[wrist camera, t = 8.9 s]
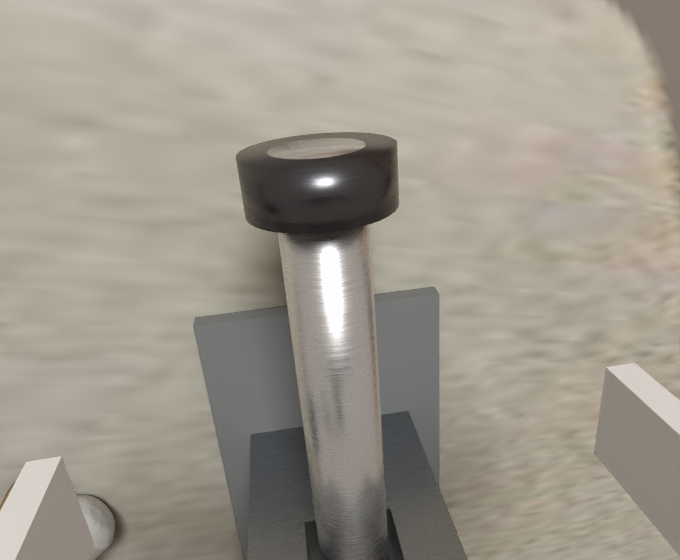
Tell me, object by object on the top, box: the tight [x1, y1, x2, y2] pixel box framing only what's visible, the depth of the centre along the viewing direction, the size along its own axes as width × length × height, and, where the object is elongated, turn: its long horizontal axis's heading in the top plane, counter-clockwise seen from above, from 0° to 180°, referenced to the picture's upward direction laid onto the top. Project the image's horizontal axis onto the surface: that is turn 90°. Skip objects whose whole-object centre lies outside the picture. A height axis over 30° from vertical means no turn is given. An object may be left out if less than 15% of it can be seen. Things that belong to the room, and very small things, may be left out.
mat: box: [193, 287, 439, 560], centre depth 36 cm, size 14×24×1 cm, turn 4°
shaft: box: [236, 132, 399, 560], centre depth 23 cm, size 5×24×5 cm, turn 4°
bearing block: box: [248, 411, 467, 560], centre depth 30 cm, size 10×8×15 cm
